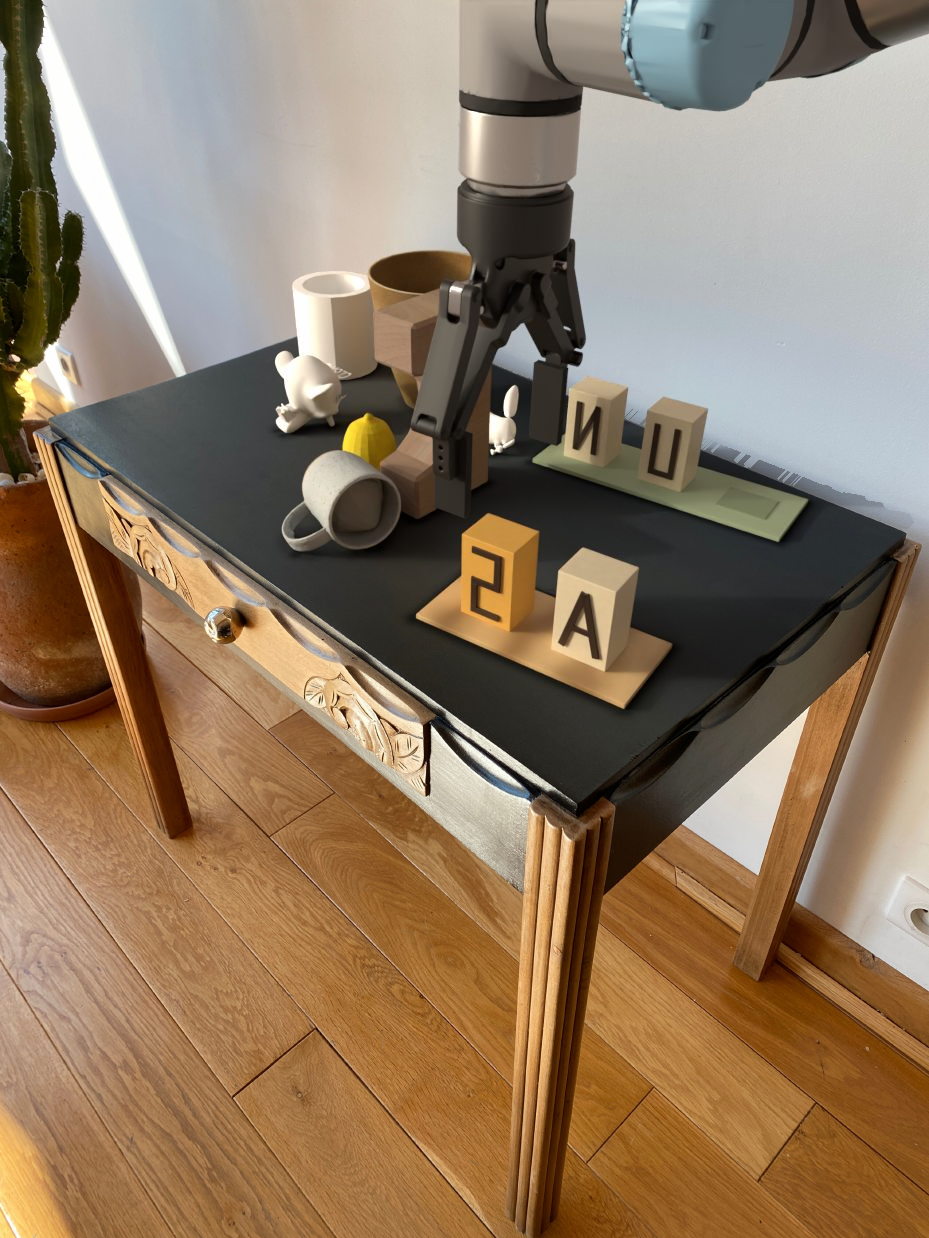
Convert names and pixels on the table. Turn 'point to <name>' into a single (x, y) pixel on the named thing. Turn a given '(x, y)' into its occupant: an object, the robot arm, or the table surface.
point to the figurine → (307, 390)
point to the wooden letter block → (595, 421)
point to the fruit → (370, 440)
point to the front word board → (534, 647)
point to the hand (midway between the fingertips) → (501, 473)
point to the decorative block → (406, 349)
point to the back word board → (691, 492)
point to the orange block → (498, 571)
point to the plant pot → (413, 288)
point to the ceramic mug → (344, 503)
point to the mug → (336, 320)
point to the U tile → (672, 443)
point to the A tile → (593, 608)
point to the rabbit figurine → (504, 423)
